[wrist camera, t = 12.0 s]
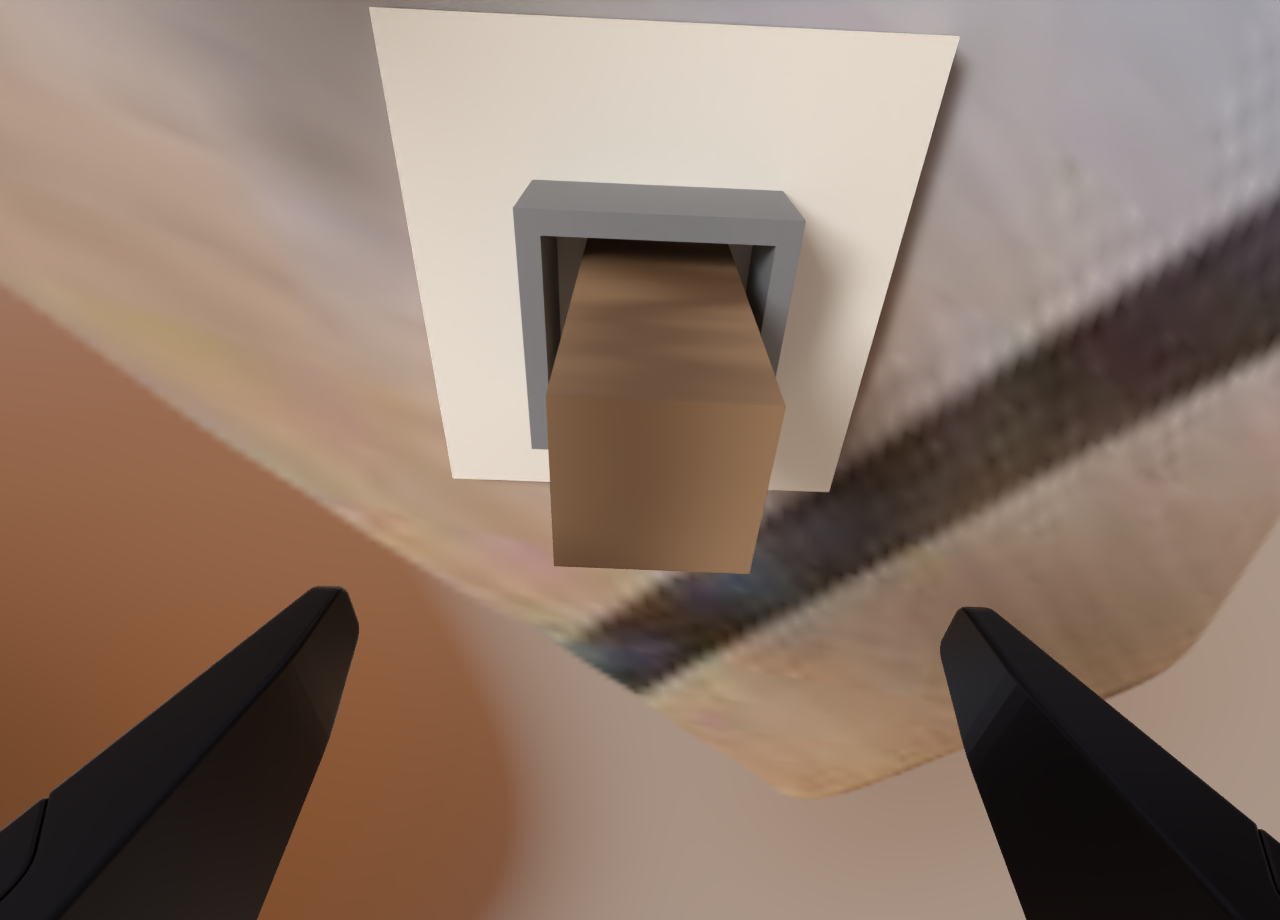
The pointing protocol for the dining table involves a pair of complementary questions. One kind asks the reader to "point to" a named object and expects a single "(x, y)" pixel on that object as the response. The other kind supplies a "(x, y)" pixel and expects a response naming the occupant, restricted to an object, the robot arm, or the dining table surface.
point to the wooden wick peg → (660, 412)
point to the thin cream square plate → (650, 197)
